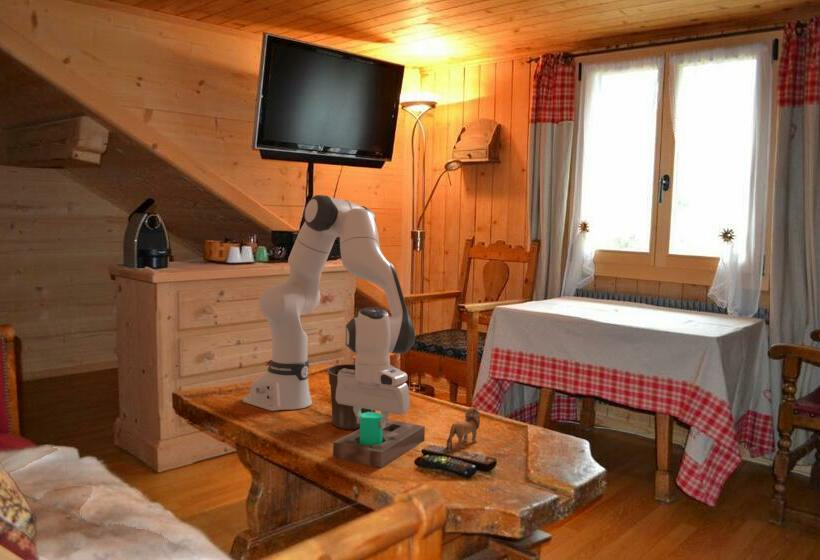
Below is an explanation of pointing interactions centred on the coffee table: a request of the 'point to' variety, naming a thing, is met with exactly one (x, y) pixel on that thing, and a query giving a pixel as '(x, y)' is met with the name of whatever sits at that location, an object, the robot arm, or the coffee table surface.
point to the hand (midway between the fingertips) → (371, 425)
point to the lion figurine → (465, 427)
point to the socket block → (393, 444)
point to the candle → (370, 429)
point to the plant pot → (342, 413)
